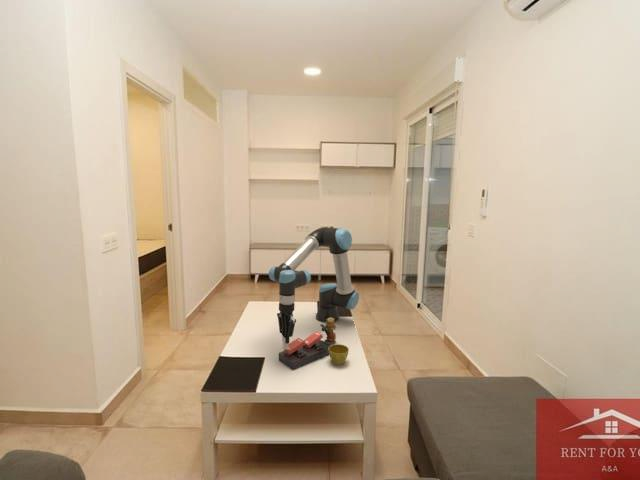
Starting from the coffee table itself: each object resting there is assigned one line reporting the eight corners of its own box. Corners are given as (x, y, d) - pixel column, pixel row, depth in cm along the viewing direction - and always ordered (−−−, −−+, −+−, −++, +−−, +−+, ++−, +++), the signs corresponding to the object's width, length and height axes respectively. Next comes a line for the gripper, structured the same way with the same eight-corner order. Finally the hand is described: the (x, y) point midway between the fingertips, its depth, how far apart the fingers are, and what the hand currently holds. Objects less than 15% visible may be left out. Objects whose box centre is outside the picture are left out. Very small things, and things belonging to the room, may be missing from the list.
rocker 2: (316, 334, 184) (315, 330, 184) (322, 337, 181) (322, 334, 180) (302, 344, 179) (301, 341, 178) (309, 348, 175) (308, 345, 174)
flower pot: (328, 356, 175) (328, 343, 174) (347, 357, 175) (348, 344, 174) (327, 367, 165) (328, 353, 164) (348, 367, 165) (349, 354, 164)
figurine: (338, 341, 193) (339, 316, 191) (333, 346, 186) (334, 320, 184) (323, 338, 197) (324, 313, 194) (318, 343, 190) (318, 317, 188)
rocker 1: (299, 340, 177) (298, 337, 176) (305, 344, 173) (304, 341, 172) (283, 351, 171) (283, 347, 170) (289, 354, 167) (288, 351, 166)
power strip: (317, 345, 188) (318, 335, 187) (332, 353, 179) (333, 343, 178) (278, 360, 171) (278, 350, 170) (293, 370, 162) (293, 359, 161)
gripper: (272, 300, 167) (271, 345, 170) (288, 307, 157) (287, 355, 161) (285, 297, 172) (284, 341, 175) (301, 304, 162) (299, 351, 166)
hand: (285, 348), depth 168 cm, fingers closed
